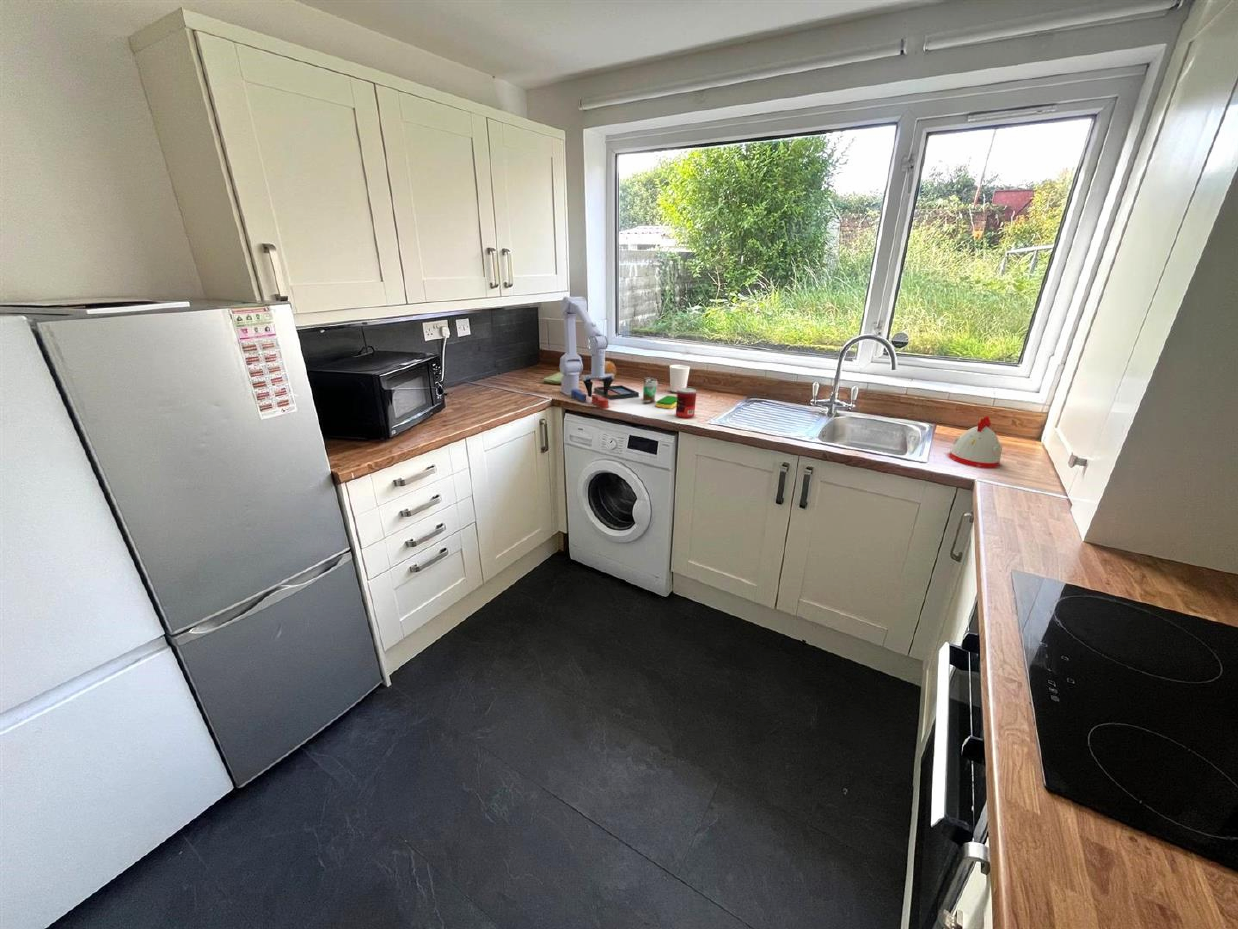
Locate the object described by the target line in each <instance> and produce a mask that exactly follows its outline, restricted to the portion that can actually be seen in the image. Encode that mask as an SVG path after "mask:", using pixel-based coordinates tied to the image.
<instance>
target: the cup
mask: <svg viewBox="0 0 1238 929" xmlns="http://www.w3.org/2000/svg"><path fill="white" fill-rule="evenodd" d="M690 369H691V367H690V366H689V365H685V364H672V365H669V390H670V392H671V393H673V394H677V391H678V389H679V388H687V386H688V381H689V379H688V378H689V375H690Z"/></svg>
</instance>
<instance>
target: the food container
mask: <svg viewBox="0 0 1238 929" xmlns="http://www.w3.org/2000/svg"><path fill="white" fill-rule="evenodd" d="M658 385H659V382H658V379H656V378H654V377H648V376H644V377H643V391H642V392H643V393H642V402H643V404H644V405H650V404H654V403H655V398H656V392H657V391H656V390H657V386H658Z"/></svg>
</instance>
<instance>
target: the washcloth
mask: <svg viewBox="0 0 1238 929" xmlns="http://www.w3.org/2000/svg"><path fill="white" fill-rule="evenodd" d="M562 375H563V374H562V373H561V371H560V372H557V373H554V374H552V375H549V376H546V377H545V378H543V379H542V382H543V383H545V384H549V385H551V384H552V385H559V386H561V377H562Z"/></svg>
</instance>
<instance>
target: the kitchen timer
mask: <svg viewBox="0 0 1238 929" xmlns="http://www.w3.org/2000/svg"><path fill="white" fill-rule="evenodd" d="M991 424H992V422H991V419H990V416H984V417H983V418H980V421H979V422H978V423H977V426H973V427H971V428H969V429H968V430H966V431H965V432H964V433H962V434H961V435H960V436H958V435H957V436H956V438H955V440H954V442H953V443H952V447H951V449H950V451H949V455H948V457H949V458H950V460H953V461H954V462H957V463H960V464H961V465H962V464H963V465H965V466H970V467H976V468H982V469H983V468H985V469H993V468H997V467H999V464H1000V461H1001V455H1002V450H1003V444H1000V440H999V438H998V436H997V434H996V433H995V431H993V430H992V429H991V428H990V426H991Z"/></svg>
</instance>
